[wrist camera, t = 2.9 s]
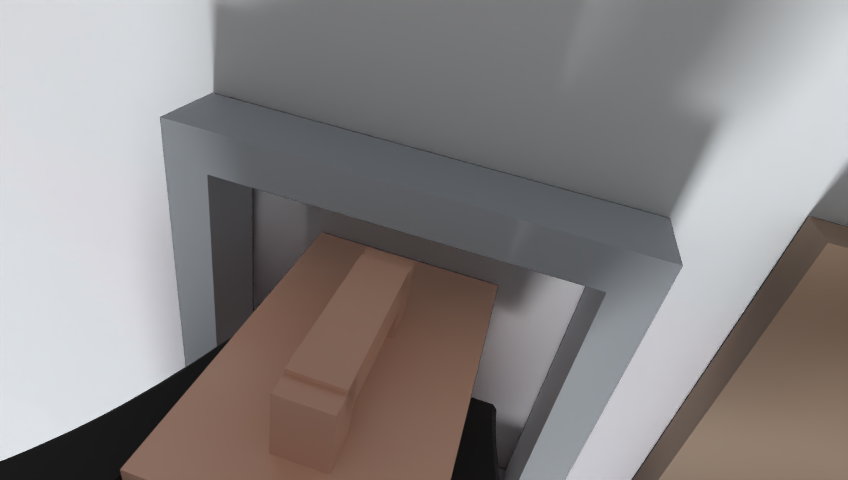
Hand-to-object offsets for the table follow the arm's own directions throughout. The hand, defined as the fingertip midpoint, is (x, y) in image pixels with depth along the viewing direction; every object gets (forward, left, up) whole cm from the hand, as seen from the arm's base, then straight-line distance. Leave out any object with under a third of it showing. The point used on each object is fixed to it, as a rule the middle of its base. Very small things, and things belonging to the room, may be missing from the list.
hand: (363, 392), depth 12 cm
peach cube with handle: (0, 0, -2) cm, 2 cm away
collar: (0, 0, -2) cm, 2 cm away
